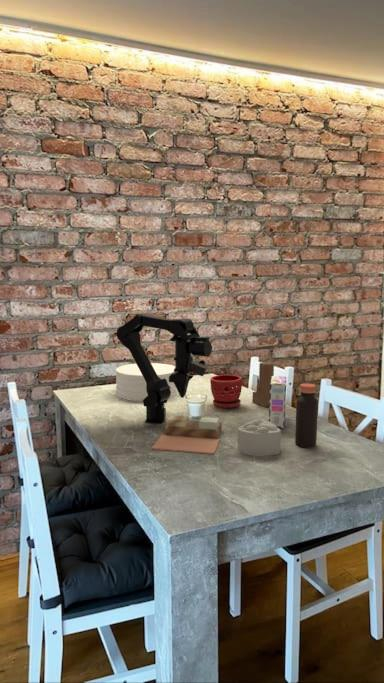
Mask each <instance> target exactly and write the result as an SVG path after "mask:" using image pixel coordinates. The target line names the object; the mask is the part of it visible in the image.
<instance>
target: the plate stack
mask: <svg viewBox="0 0 384 683" xmlns="http://www.w3.org/2000/svg"><path fill="white" fill-rule="evenodd" d="M150 363H151V364H152V366H153V368H154V370H155V372H156V374H157V376H158V377H159V378H160V379H164V378H165V379H166V380H167V383H168V385H169V386H170V387H171V388H170V391H171V394H170V397H169V398H168V400H169V399H172V398H174V397H177V395H179V392H178V390H177V388H176V386H175V384H174V382H169V376H170V375H171V374H172V373H173V372H174V369H175V365H172V364H167V363H158V362H157V363H156V362H150ZM115 374H116V375H115V378H116V380H115V383H116V384H115V385H116V386H115V389H116V392H115V393H116V394H115V395H116V397H118V398H120V399H122V398H123V399H122V400H126V399H127V400H128V401H132V400H135V401H134V402H143V400H144V399H145V398H146V397H147V396H148V394H147V391H146V381H145V379H144V377H143V375H142V373H141V372H140V370H139V368H138V366H137V364H136V363H130V364H125V365H120V366H118V367H116V369H115ZM127 400H126V401H127Z"/></svg>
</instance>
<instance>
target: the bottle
mask: <svg viewBox="0 0 384 683" xmlns="http://www.w3.org/2000/svg"><path fill="white" fill-rule="evenodd" d="M299 387H300V388H299V391H300V392H299V393H300V396H299V397H297V399H296V409H295V412H296V413H295V431H294V432H295V434H294V436H295V438H294V444H295V445H296V446H298V447H300V448H306V449H309V448H310V449H311V448H315V447H316V446H317V439H318V438H317V436H318V417H319V416H318V411H319V401H318V399H317V398H316V396H315V395H316V391H317V390H316V388H317V387H316V384H313V383H301V384H299Z"/></svg>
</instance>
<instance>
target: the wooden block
mask: <svg viewBox="0 0 384 683" xmlns="http://www.w3.org/2000/svg"><path fill="white" fill-rule="evenodd" d="M258 367H259V370H258V374H259V375H258V389H257V391H252V400H251V402H252V403H254V404H256V405H259V406H261V407H263V408H266V407H267V408H268V407H269V401H270V383H271V378H272V376H275V375H274V374H275V373H274V371H275V364H274V363H272V362H268V361H267V362H259V366H258Z"/></svg>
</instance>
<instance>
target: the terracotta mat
mask: <svg viewBox="0 0 384 683" xmlns="http://www.w3.org/2000/svg"><path fill="white" fill-rule="evenodd" d="M220 442H221V439H219V438H218V439H210V438H197V437H184V436H170V435H165V434H162V435H161V436H159V438H158V440H157V441H156V442H155V443H154V444H153V445H152V447H151V450H157V451H172V452H182V453H195V454H209V455H215V453H216V452H217V449H218V447H219V444H220Z"/></svg>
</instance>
